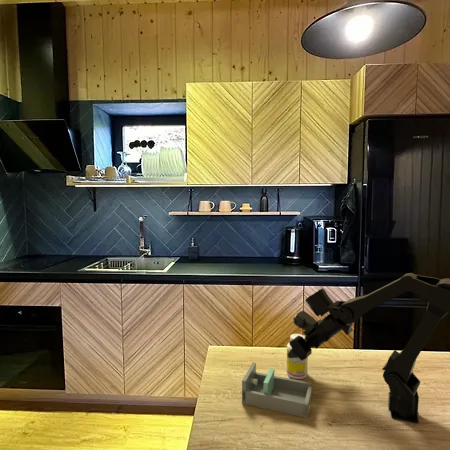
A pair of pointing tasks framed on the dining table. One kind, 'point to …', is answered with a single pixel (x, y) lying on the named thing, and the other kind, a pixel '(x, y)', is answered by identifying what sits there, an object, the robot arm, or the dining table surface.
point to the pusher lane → (277, 393)
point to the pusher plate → (269, 382)
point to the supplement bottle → (296, 363)
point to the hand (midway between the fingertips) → (293, 352)
